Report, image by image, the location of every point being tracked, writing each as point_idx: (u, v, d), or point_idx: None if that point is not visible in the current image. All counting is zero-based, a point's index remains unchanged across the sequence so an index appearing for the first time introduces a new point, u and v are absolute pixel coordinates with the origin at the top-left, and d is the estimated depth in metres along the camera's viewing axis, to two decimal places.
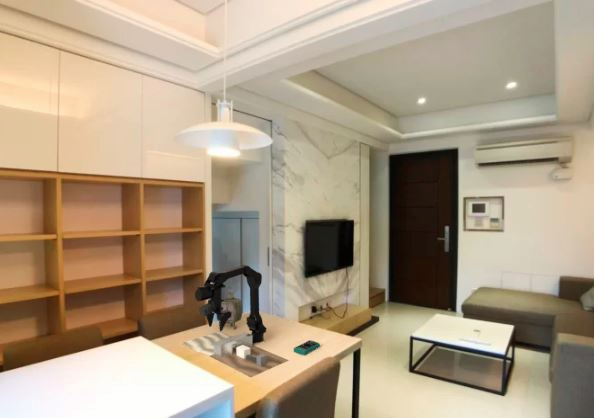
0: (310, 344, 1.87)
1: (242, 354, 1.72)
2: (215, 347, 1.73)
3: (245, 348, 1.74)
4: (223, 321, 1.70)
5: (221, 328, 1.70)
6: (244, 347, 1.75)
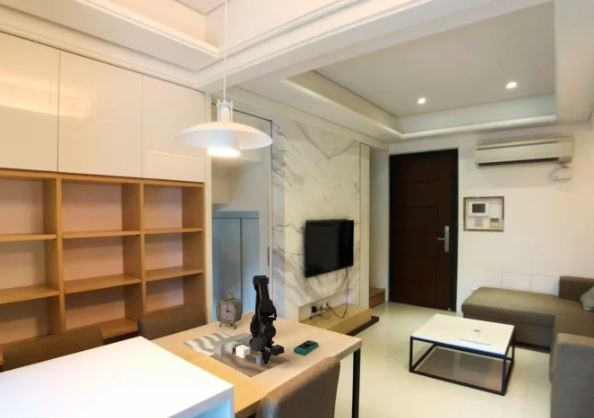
0: (309, 344, 1.88)
1: (241, 354, 1.72)
2: (215, 347, 1.73)
3: (244, 348, 1.74)
4: (268, 354, 1.63)
5: (266, 361, 1.63)
6: (243, 347, 1.75)
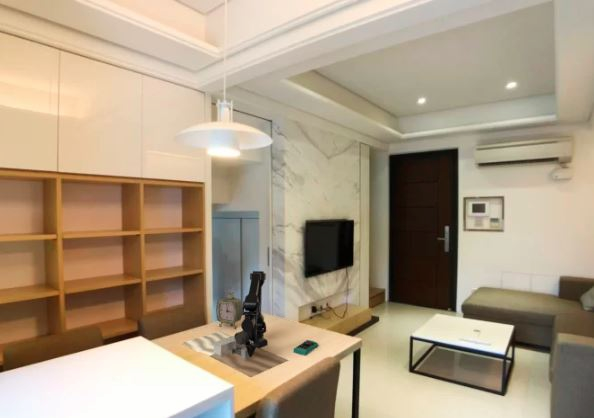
0: (309, 344, 1.88)
1: None
2: (215, 347, 1.73)
3: None
4: (253, 347, 1.70)
5: (251, 354, 1.70)
6: None
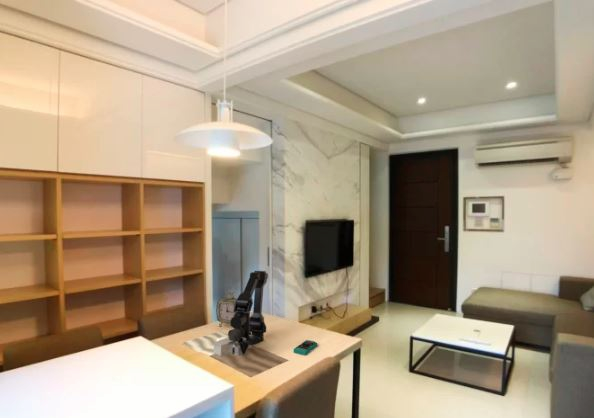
0: (308, 344, 1.88)
1: None
2: (215, 347, 1.73)
3: None
4: (246, 344, 1.74)
5: (244, 351, 1.73)
6: None
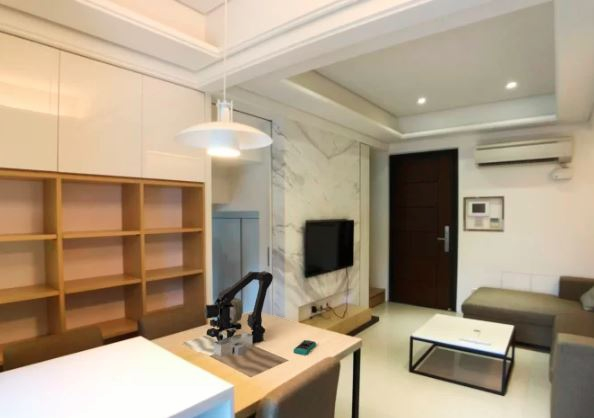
0: (307, 344, 1.88)
1: None
2: (215, 347, 1.73)
3: None
4: (219, 338, 1.82)
5: None
6: (224, 338, 1.86)
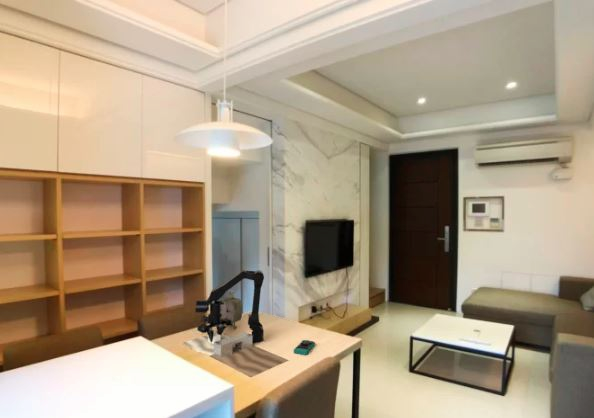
0: (307, 344, 1.88)
1: None
2: (215, 347, 1.73)
3: (215, 335, 1.91)
4: (210, 333, 1.88)
5: (210, 339, 1.89)
6: (215, 334, 1.91)
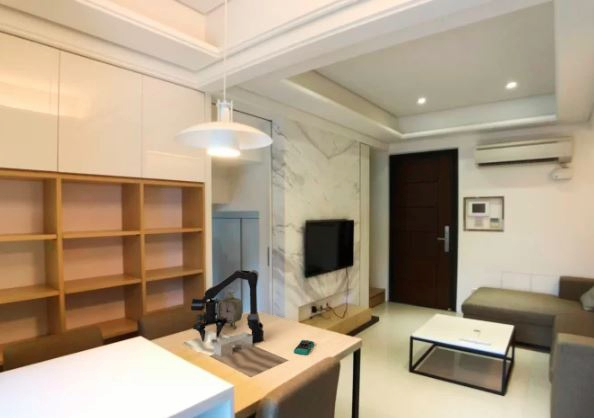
0: (306, 343, 1.88)
1: (208, 338, 1.92)
2: (215, 347, 1.73)
3: (211, 333, 1.94)
4: (201, 333, 1.89)
5: (202, 338, 1.90)
6: (210, 332, 1.95)
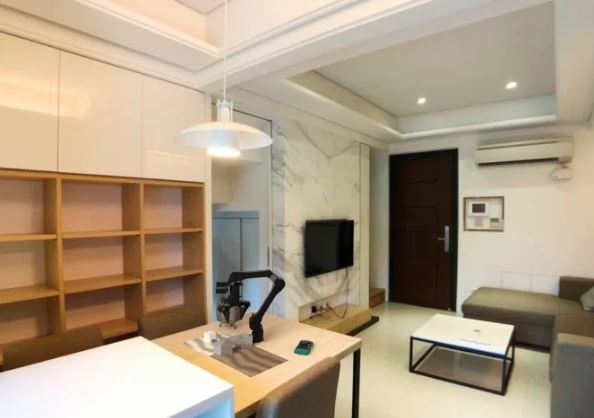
0: (305, 343, 1.88)
1: (208, 338, 1.92)
2: (215, 347, 1.73)
3: (211, 333, 1.94)
4: (226, 315, 1.88)
5: (226, 321, 1.89)
6: (210, 332, 1.95)
